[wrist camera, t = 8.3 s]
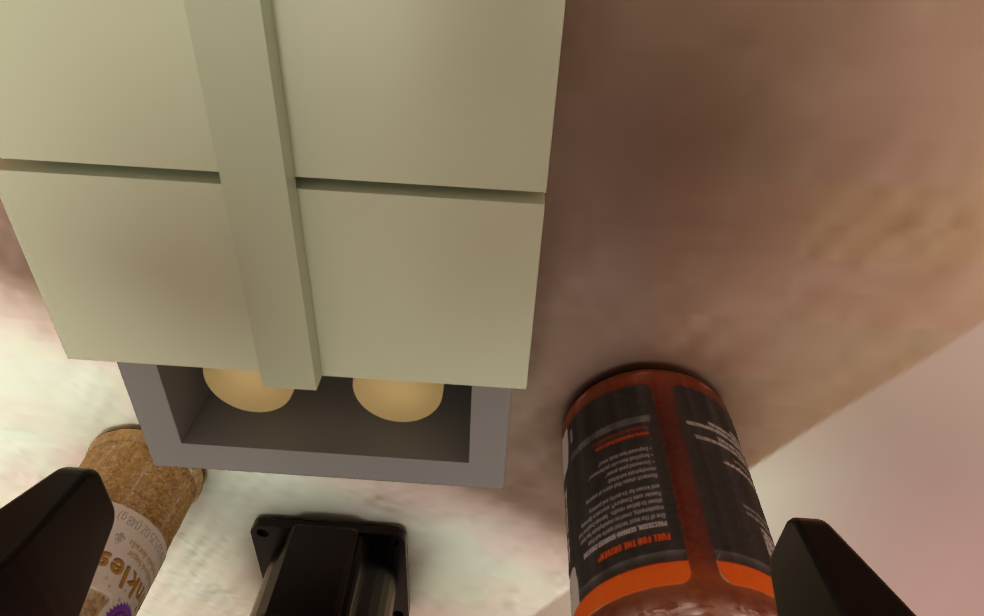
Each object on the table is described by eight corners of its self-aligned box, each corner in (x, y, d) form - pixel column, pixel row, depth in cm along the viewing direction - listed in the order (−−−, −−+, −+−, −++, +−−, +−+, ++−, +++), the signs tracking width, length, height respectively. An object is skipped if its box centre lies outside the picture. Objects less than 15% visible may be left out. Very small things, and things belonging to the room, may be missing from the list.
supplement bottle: (531, 445, 25) (530, 798, 16) (616, 335, 22) (676, 698, 13) (665, 496, 27) (734, 850, 18) (764, 399, 23) (913, 770, 14)
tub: (508, 373, 23) (503, 489, 19) (220, 353, 23) (154, 465, 19) (545, -100, 15) (550, -72, 11) (101, -126, 15) (-55, -107, 11)
